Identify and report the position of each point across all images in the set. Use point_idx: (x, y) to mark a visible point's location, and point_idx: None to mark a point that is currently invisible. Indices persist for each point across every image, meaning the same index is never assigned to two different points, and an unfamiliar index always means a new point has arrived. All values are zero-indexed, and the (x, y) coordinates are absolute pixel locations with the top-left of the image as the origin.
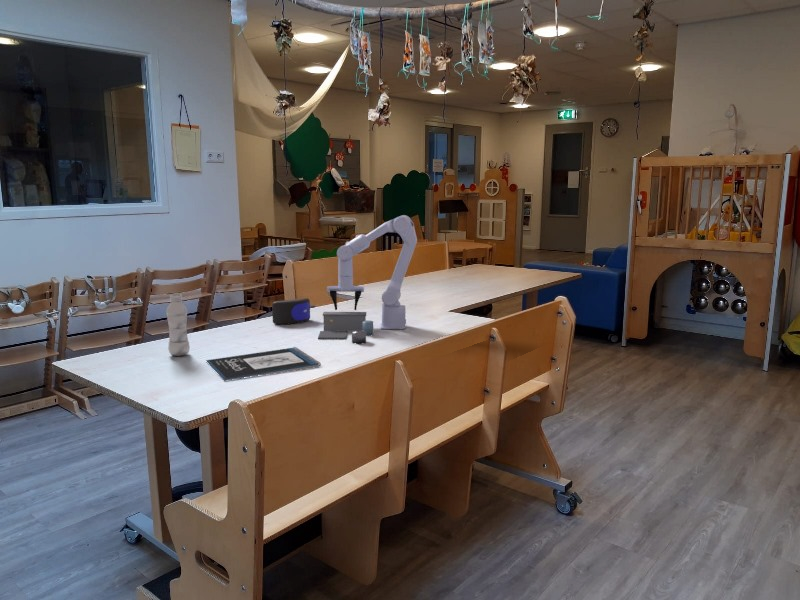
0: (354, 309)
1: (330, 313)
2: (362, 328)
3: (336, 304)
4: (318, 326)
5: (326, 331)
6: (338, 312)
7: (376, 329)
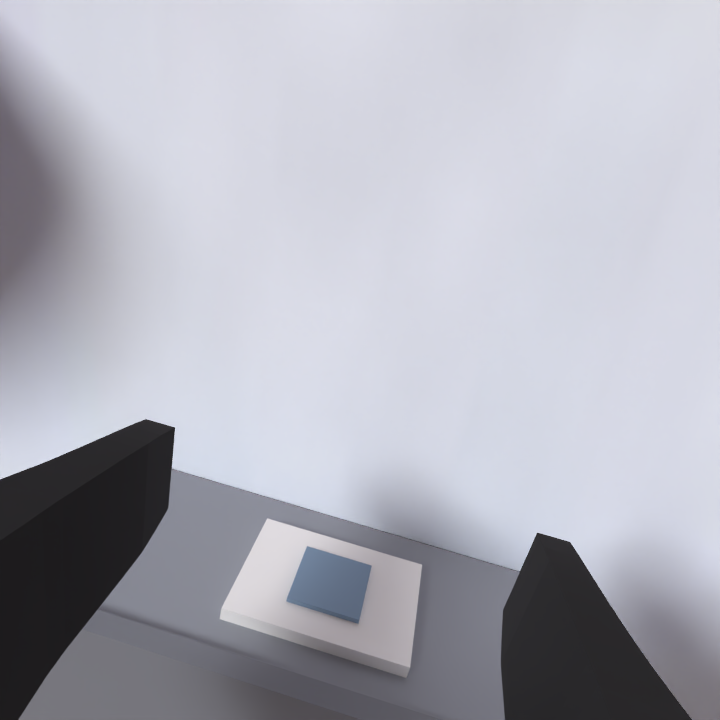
0: (502, 624)
1: (77, 709)
2: None
3: (100, 576)
4: (54, 343)
5: None
6: (190, 697)
7: (701, 655)
